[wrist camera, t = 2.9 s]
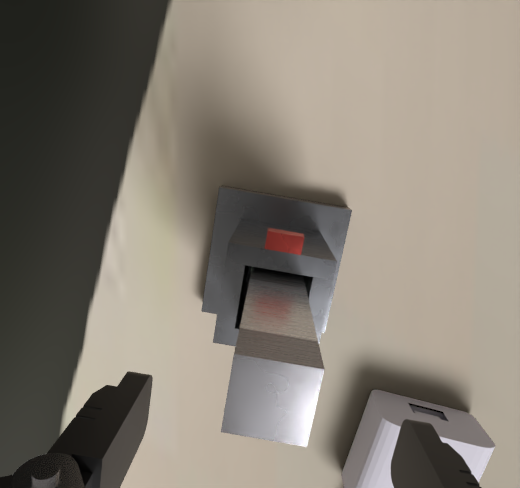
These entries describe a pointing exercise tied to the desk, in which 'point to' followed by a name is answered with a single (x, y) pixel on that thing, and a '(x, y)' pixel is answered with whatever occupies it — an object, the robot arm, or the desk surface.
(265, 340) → the column
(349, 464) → the charger
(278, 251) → the stand
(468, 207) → the desk surface
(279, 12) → the desk surface
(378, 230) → the desk surface
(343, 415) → the desk surface
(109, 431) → the robot arm
